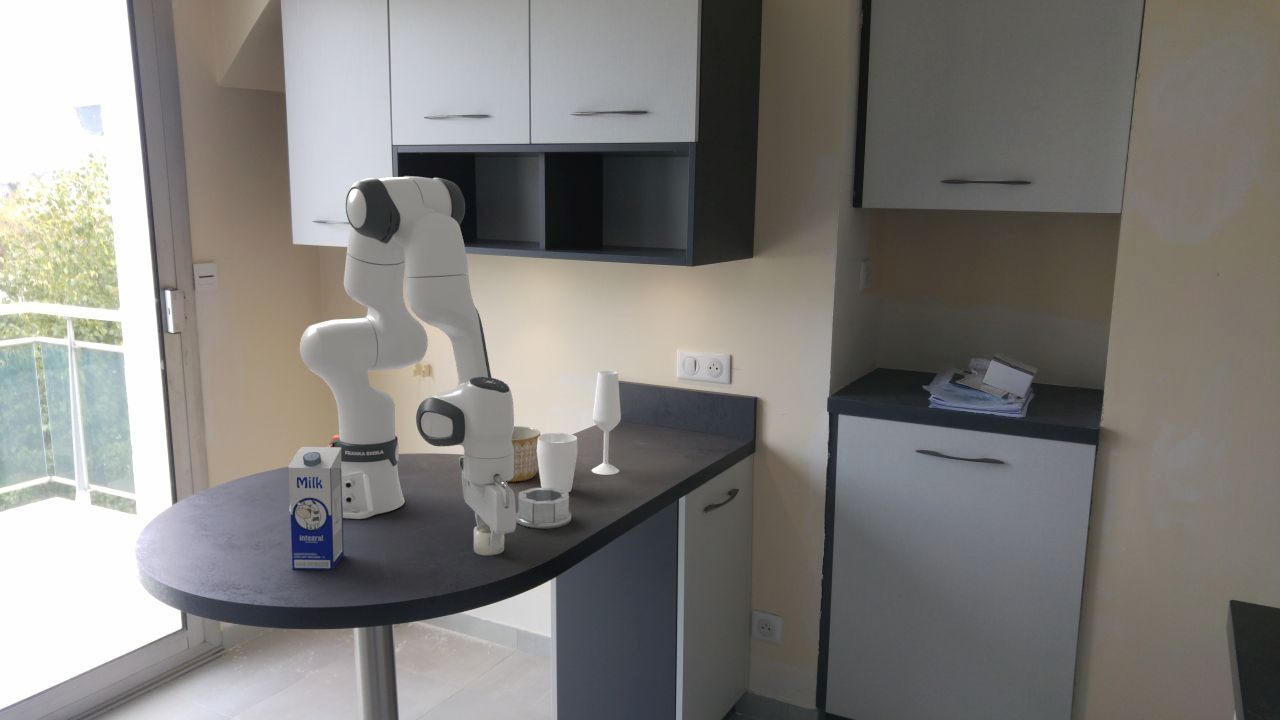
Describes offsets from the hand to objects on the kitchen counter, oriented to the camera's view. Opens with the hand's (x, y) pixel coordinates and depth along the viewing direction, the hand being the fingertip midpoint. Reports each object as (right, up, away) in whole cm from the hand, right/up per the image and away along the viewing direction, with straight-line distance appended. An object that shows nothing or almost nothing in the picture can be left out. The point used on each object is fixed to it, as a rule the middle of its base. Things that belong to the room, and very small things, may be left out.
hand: (488, 541), depth 165 cm
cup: (+9, +4, +36) cm, 37 cm away
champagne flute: (+19, +6, +52) cm, 56 cm away
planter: (-2, +6, +46) cm, 46 cm away
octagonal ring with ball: (+8, +1, +17) cm, 19 cm away
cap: (0, -2, 0) cm, 2 cm away
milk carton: (-28, -2, -8) cm, 29 cm away
